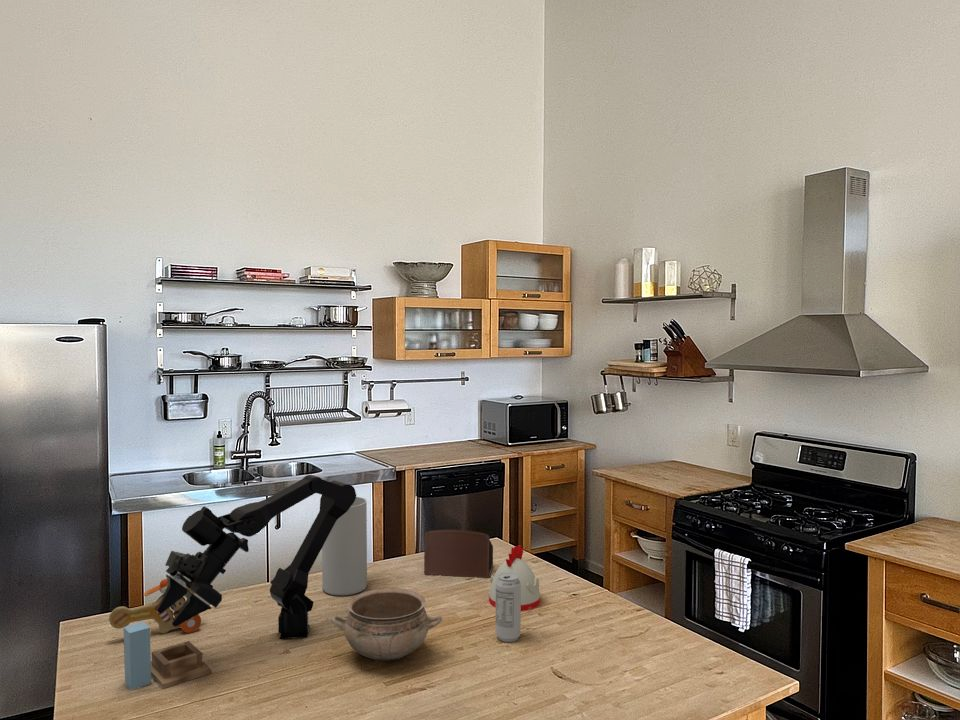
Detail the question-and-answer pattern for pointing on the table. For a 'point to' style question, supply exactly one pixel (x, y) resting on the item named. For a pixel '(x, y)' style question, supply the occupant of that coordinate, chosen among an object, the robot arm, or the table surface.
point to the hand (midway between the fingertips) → (165, 618)
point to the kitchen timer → (525, 576)
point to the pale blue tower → (137, 655)
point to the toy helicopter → (154, 613)
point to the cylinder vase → (346, 552)
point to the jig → (178, 664)
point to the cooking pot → (386, 623)
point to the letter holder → (458, 553)
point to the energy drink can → (508, 607)
